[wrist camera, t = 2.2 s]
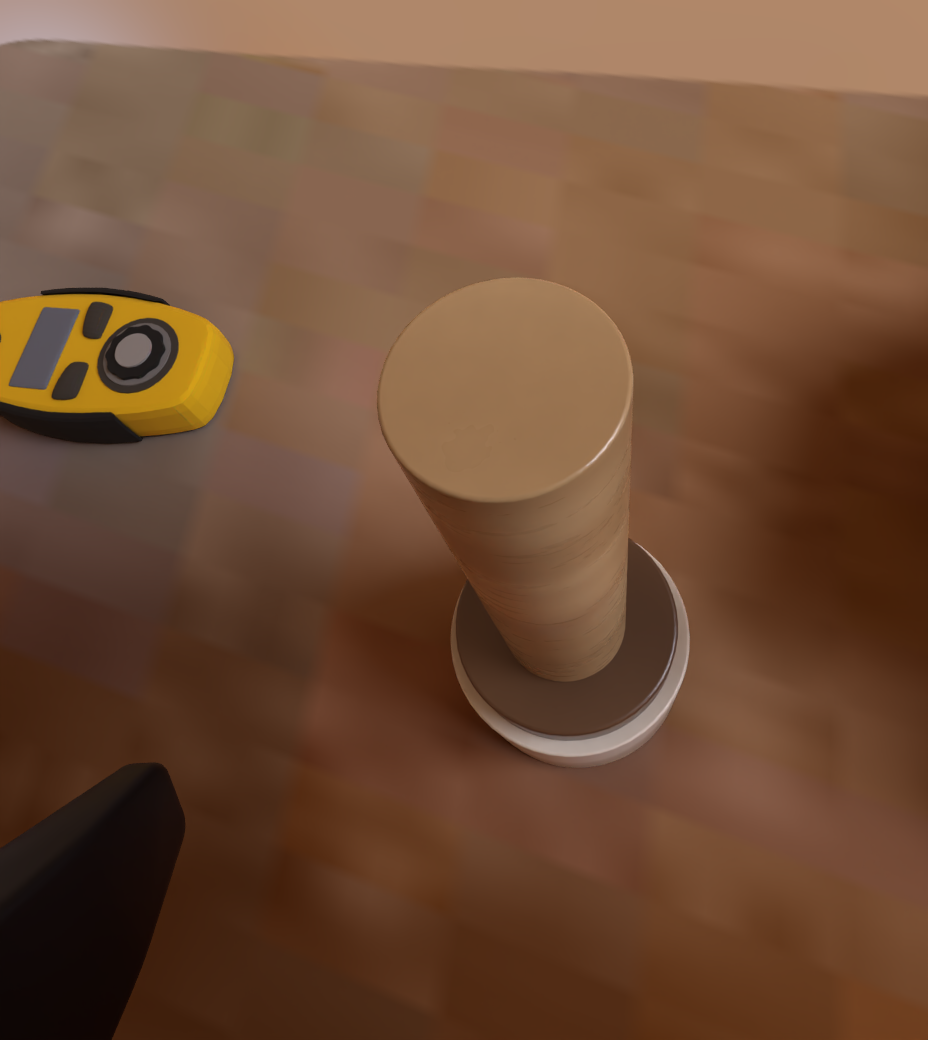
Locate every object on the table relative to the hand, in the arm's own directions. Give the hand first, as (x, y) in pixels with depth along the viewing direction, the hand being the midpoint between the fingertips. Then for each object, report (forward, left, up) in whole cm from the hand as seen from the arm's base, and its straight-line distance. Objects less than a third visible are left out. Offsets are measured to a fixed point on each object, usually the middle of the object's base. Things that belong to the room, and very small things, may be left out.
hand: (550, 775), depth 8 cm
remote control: (+10, +20, -10) cm, 24 cm away
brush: (+3, +1, -10) cm, 11 cm away
